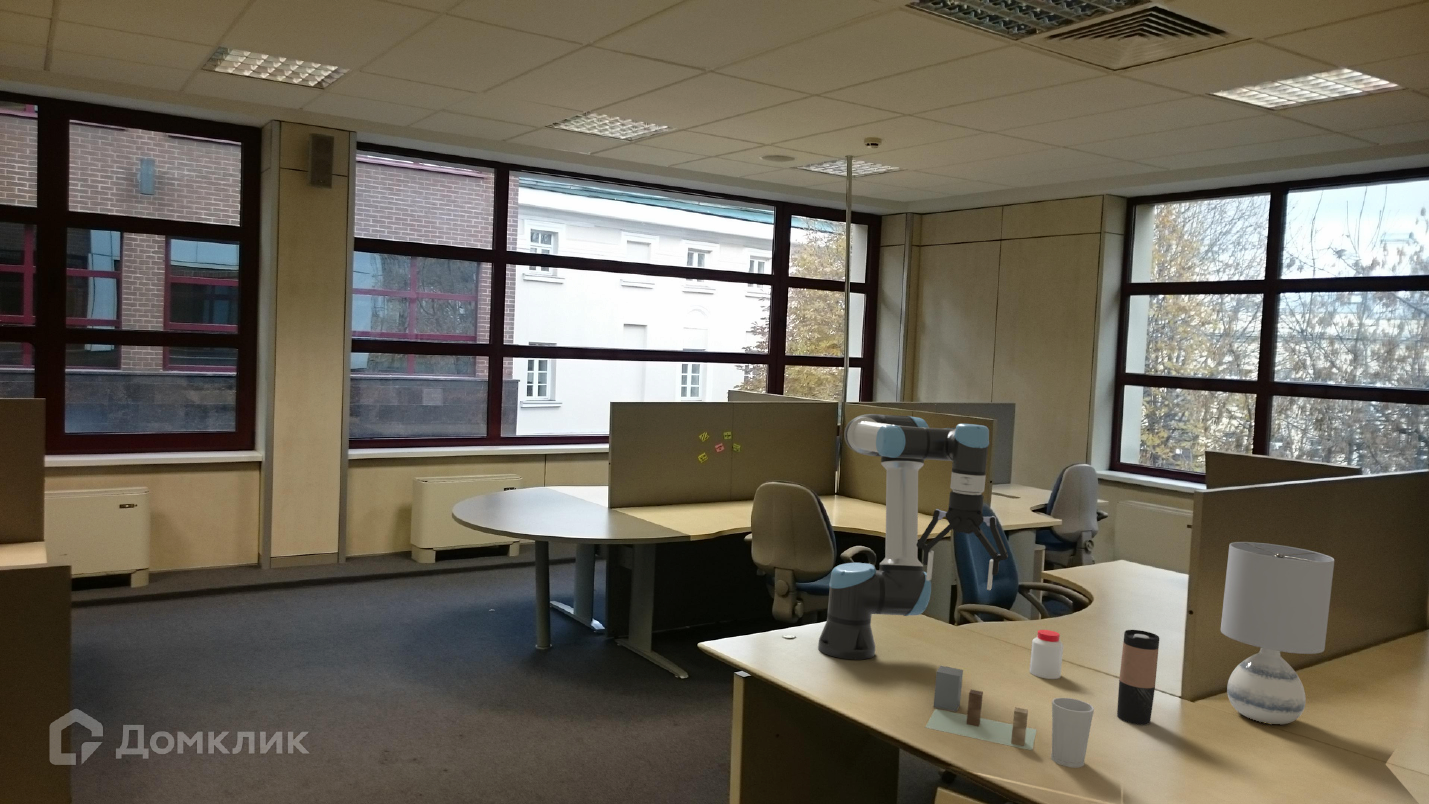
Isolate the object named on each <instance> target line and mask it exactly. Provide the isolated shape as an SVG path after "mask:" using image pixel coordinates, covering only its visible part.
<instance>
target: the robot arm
mask: <svg viewBox="0 0 1429 804" xmlns="http://www.w3.org/2000/svg"><path fill="white" fill-rule="evenodd" d="M843 435H844V441H845V443H846V445H847V447H848V448H849V449H850V450H852V451H854V452H855V453H858V454H861V455H865V456H867V457H868V456H870V457H878V458H880V465H882V466H881V467H883V468H884V469H885V470H886V474H885V475H886V484H885V485H886V487H885V488H886V490H885V491H886V492H885V494H886V495H885V548H884V549H885V554H884V555H885V557H884V558H883V560H882V561H881V562H879V570H877V569H876V567H875V565H874V564H871V563H867V562H864V563H862V562H847V563H842V564H839V565H837V566H835V567H834V568H833V569H832V571H831V574H830V580H829V584H828V586H829V593H828V604H827V605H828V606H827V615H826V616H827V617H826V622H825V624H824V627H823V629H822V631H821V634H820V636H819V638H818V647H817V648H818V650H819V652H821V653H823V654H825V655H828V656H829V657H834V658H838V659H843V660H856V661H857V660H858V661H859V660H868V659H871V658H873V657H875V655H876V643H875V640H874V635H873V630H872V626H871V623H872V616H873V615H883V616H884V615H888V616H903V617H909V616H919V615H921V614H923V612H925V610H926V609H927V607H928V605H929V603H930V598H931V595H932V582H931V580H932V579H933V578H932V576H933V566H934V565H933V564H934V556H935V555H934V553H935V551H934V550H931V549H932V548H933V547H934V546H935V545H937V544H938V543H939V542H940V541H941V540H942V539H943V538H944V537H945V536H947V535H948V533H949V532H951V531H952V530H953V531H954V532H955V533H964V534H969V535H970V534H974V535H975V537H976V538H977V539H978V540H979V542H980V543H981V544H982V546H983V548H984V549H985V550H986V552H987V554H988V555H989V556H990V557H991V559H990V560H989V564H988V574H987V585H986V591H987V590H988V591H991V589H992V587H993V576H997V575H998V573H999V570H1000V569H999V566H1000V561H1003V560H1004V561H1005V560H1007V559H1008V557H1009V553H1008V551H1007V549H1006V546H1005V543H1004V541H1003V539H1002V536H1001V534H1000V531H999V528H998V526H997V517H996V516H995V515H992V516H984V514H983V508H984V495H983V494H982V493H984V492H985V489H986V488H985V487H986V485H985V484H986V479H987V477H986V474H987V464H988V463H987V462H988V452H989V445H990V440H989V439H990V430H989V428H988V427H987V426H986V425H981V424H973V423H958V424H957V425H956V426H955V427H952V428H951V427H946V428H941V427H940V428H938V427H929V425H928V424H927V421H926V420H925V419H923V418H921V417H918V416H917V417H915V416H911V415H894V414H879V413H878V414H877V413H876V414H875V413H869V414H868V413H867V414H866V413H865V414H862V415H858V416H856V417H855V418H852V419H851V420H850V421H849V422H848V423H847V424H846V427H845V428H844V433H843ZM925 460H930V461H931V460H932V461H944V462H945V461H949V462H952V466H951V467H952V468H951V475H950V477H951V478H950V486H949V488H950V489H951V491H950V492H949V498H948V509H947V511H944V510H941V509H940V508H936V509H935V510H934V511H933V514H932V519H931V521H930V522H929V524H928V525H927V526H926V528H925V529H924V531H923V533H922V535H921V537H919V535H918V534H919V531H918V530H919V529H918V528H919V527H918V525H919V524H918V522H919V520H918V517H919V470H921V468H922V467H924V464H925V463H924V461H925ZM944 517H945V518H946V520H947V522H948V523H949V524H948V525H947V526H946V527H945V528H944V529H942V530H941V532H939V533H938V534H937V535H936V536H935V537H934V538H933V539H932V540H931V541H930V542H929V543H925V542H926V541H927V540H928V538H929V536H931V533H932V531H934V529H935V527H936V526H937V525H938V522H939V521H941V520H943V518H944ZM983 523H985V524H986V526H987V527H989V528H990V529H989V530H990V532H991V535H992V537H993V539H994V543H995V544H996V547H997V549H998V551H996V549H995V548H994V546H993V544H992V543H991V542H990V541H989V539H988V538H987V536H986V535H985V533H984V532H983V530H982V528H981V527H980V526H981V525H982V524H983ZM918 537H919V540H918ZM918 549H921V550H922V551H923V561H922V562H921V561H920V560H919V558H918ZM998 552H999V553H998ZM924 566H926V567H927V568H926V571H924Z"/></svg>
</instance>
